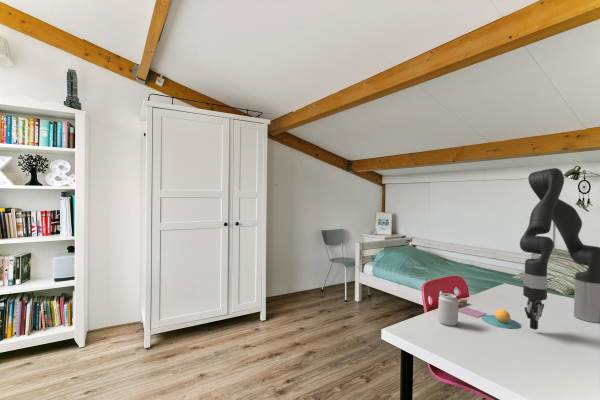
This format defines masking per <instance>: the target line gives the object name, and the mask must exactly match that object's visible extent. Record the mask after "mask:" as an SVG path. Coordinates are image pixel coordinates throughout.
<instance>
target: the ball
mask: <svg viewBox="0 0 600 400" xmlns="http://www.w3.org/2000/svg"><path fill="white" fill-rule="evenodd" d="M494 315H495V317H496V319H497V320H498V321H499V322H502V323H507V322H509V321H510V319H511V314H510V313H509V312H508V311H507V310H506V309H503V308H500V309H497V310H496V311H495V313H494Z"/></svg>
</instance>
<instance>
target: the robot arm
mask: <svg viewBox="0 0 600 400" xmlns="http://www.w3.org/2000/svg"><path fill="white" fill-rule="evenodd" d="M528 184H529V186H530V188H531V190H532V191H533V193H535V195H536V196H537V198H538V199H539V202H538V203H537V204H536V205H535V206H534V208H533V209H532V211H531V213H530V216H529V217H530V218H529V223H528V226H527V228H526V231H525V232H524V234H523V235H522V236H521V239H520V241H519V247H520V249H521V250H522V251H523V252H525V253H531V254H537V255H538V254H539V255H540V257H537V258H527V259H526V260H525V261H524V276H523V286H522V287H523V289H522V290H523V291H522V292H523V293H522V294H523V296H524V297H525V298H528V299H527V301H526V306H527V307H526V306H525V307H524V311H525V315H526V317H527V319H529V328H530V329H531V330H535V331H537V330H538V329H539V320H540V318H541V317H542V315H543V310H544V307H545V303H543V301H546V300H548V264H549V260H550V257H551V254H552V252H553V250H554V247H555V242H554V241H553V239H552V238H551V237H549V236H544V235H545V234H549V232H550V231H551V227H552V222H553V224H554V226H555V227H556V229H557V230H558V232H559V235H560V236H561V238H562V240H563V242H564V244H565V247H566V249H567V251H568V254H569V255H570V258H571V260H572V261H573V262H575V263H576V264H578V265H581V266H587V269H586V271H579V272H576V273H575V274H574V297H573V298H574V300H573V301H574V303H573V317H575V318H577V319H579V320H581V321H586V322H590V323H600V246H596V245H587V244H584V243H583V242H582V240H581V239H580V237H579V234H580V232H581V229H582V227H583V221H582V219H581V217H580V215H579V213H578V211H577V210H576V209H575V207H573V206H572V205H571V204H570V203H569V204H568V202H565V201H564V200H562V199H560V195H561V193H562V190H563V187H564V184H565V176H564V173H563V172H562V170H560V169H559V168H558V167H557V168H556V167H554V168H553V167H552V168H547V169H542V170H537V171H533V172H531V173H530V174H529V175H528ZM540 235H543V236H540Z"/></svg>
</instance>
